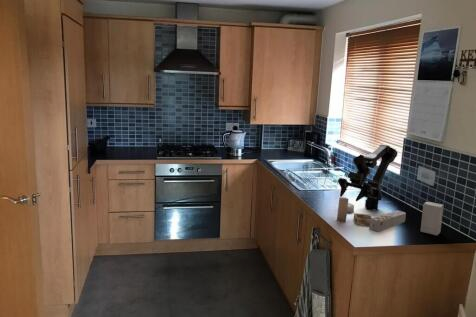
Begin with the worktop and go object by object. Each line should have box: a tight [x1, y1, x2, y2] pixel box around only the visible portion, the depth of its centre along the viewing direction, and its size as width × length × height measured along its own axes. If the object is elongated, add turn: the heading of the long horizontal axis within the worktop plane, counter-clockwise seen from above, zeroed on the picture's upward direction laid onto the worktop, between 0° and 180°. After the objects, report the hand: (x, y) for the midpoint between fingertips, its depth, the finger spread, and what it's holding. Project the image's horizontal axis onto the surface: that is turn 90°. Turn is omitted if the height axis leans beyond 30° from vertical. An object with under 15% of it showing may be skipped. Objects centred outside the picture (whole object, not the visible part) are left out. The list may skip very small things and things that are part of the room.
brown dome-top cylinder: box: [336, 196, 349, 223], centre depth 213 cm, size 5×5×12 cm
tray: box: [353, 212, 373, 226], centre depth 214 cm, size 9×9×3 cm
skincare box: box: [420, 201, 444, 236], centre depth 204 cm, size 8×6×15 cm
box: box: [368, 209, 407, 232], centre depth 212 cm, size 27×5×6 cm, turn 131°
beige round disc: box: [347, 202, 355, 214], centre depth 231 cm, size 8×8×4 cm
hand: (348, 198), depth 215 cm, fingers open, 9 cm apart
